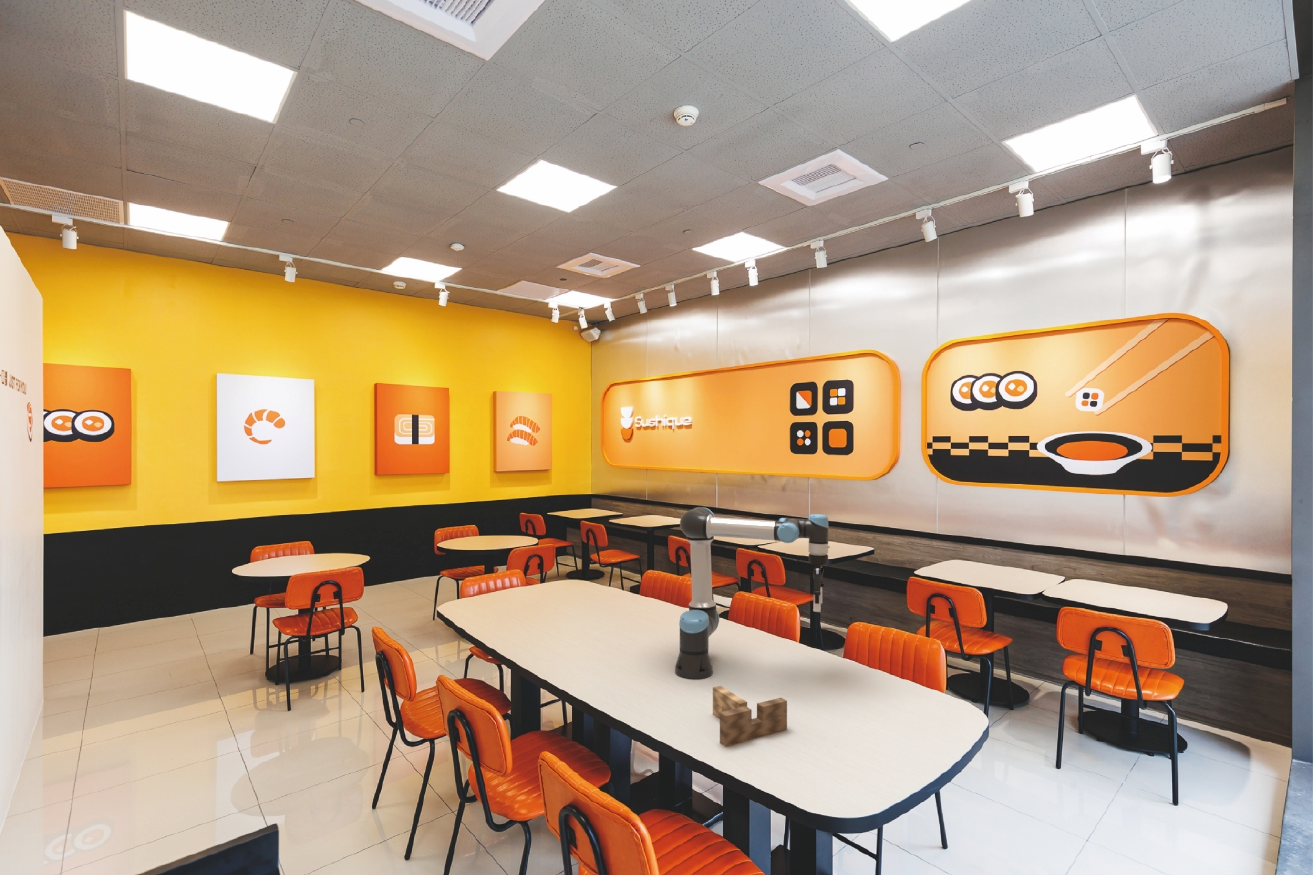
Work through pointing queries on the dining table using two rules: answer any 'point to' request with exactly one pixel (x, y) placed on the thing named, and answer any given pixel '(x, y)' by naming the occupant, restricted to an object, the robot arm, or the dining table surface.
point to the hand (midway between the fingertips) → (817, 607)
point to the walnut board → (753, 721)
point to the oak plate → (725, 701)
